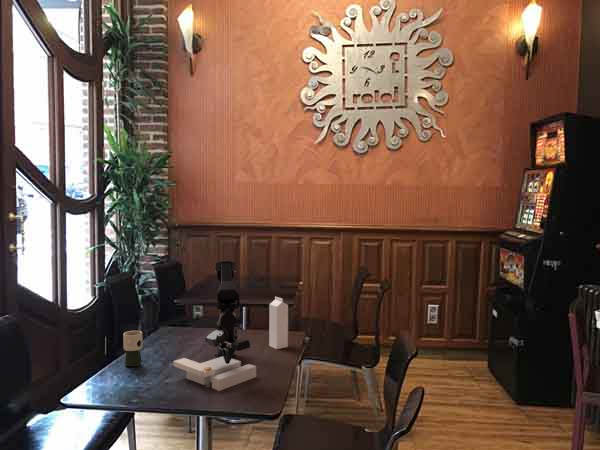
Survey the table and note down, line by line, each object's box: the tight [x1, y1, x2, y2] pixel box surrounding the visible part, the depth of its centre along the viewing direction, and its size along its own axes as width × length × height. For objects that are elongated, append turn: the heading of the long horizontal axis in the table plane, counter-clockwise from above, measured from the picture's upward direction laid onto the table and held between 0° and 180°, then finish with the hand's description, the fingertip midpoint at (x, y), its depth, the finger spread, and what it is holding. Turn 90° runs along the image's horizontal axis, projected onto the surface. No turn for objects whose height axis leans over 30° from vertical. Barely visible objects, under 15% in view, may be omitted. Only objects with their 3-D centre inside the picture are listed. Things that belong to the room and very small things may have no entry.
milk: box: [268, 296, 289, 350], centre depth 232 cm, size 6×6×22 cm
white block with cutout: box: [186, 356, 257, 392], centre depth 194 cm, size 18×19×4 cm
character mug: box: [122, 330, 143, 367], centre depth 206 cm, size 11×7×13 cm, turn 3°
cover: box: [172, 357, 215, 377], centre depth 190 cm, size 5×18×2 cm, turn 50°
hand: (227, 363), depth 195 cm, fingers closed
